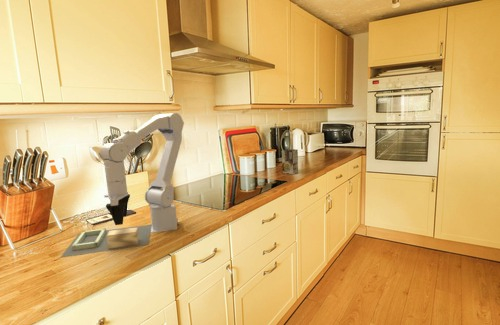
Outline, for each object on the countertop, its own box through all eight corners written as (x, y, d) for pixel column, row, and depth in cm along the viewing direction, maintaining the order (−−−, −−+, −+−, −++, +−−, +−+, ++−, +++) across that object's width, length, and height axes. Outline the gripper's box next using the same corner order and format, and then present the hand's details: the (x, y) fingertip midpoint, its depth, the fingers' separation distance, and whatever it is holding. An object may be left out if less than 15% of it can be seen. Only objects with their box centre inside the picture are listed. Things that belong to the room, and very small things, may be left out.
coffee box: (298, 172, 201) (298, 149, 198) (293, 174, 196) (292, 150, 194) (287, 171, 207) (286, 148, 204) (282, 173, 202) (281, 149, 200)
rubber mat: (152, 225, 116) (152, 224, 115) (148, 246, 97) (148, 244, 97) (79, 235, 109) (78, 233, 109) (60, 258, 91) (60, 257, 91)
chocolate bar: (136, 212, 131) (93, 224, 118) (136, 214, 131) (93, 226, 119) (127, 208, 137) (85, 219, 124) (127, 210, 137) (85, 221, 125)
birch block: (138, 239, 102) (137, 227, 101) (137, 244, 98) (136, 231, 97) (110, 243, 100) (109, 230, 99) (108, 248, 96) (106, 235, 95)
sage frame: (106, 232, 109) (105, 228, 109) (97, 246, 97) (97, 242, 97) (83, 235, 108) (83, 231, 107) (72, 250, 96) (71, 246, 95)
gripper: (107, 176, 101) (112, 214, 103) (97, 186, 87) (102, 230, 89) (129, 175, 103) (133, 212, 105) (122, 184, 89) (127, 227, 91)
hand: (121, 220), depth 97 cm, fingers open, 7 cm apart
